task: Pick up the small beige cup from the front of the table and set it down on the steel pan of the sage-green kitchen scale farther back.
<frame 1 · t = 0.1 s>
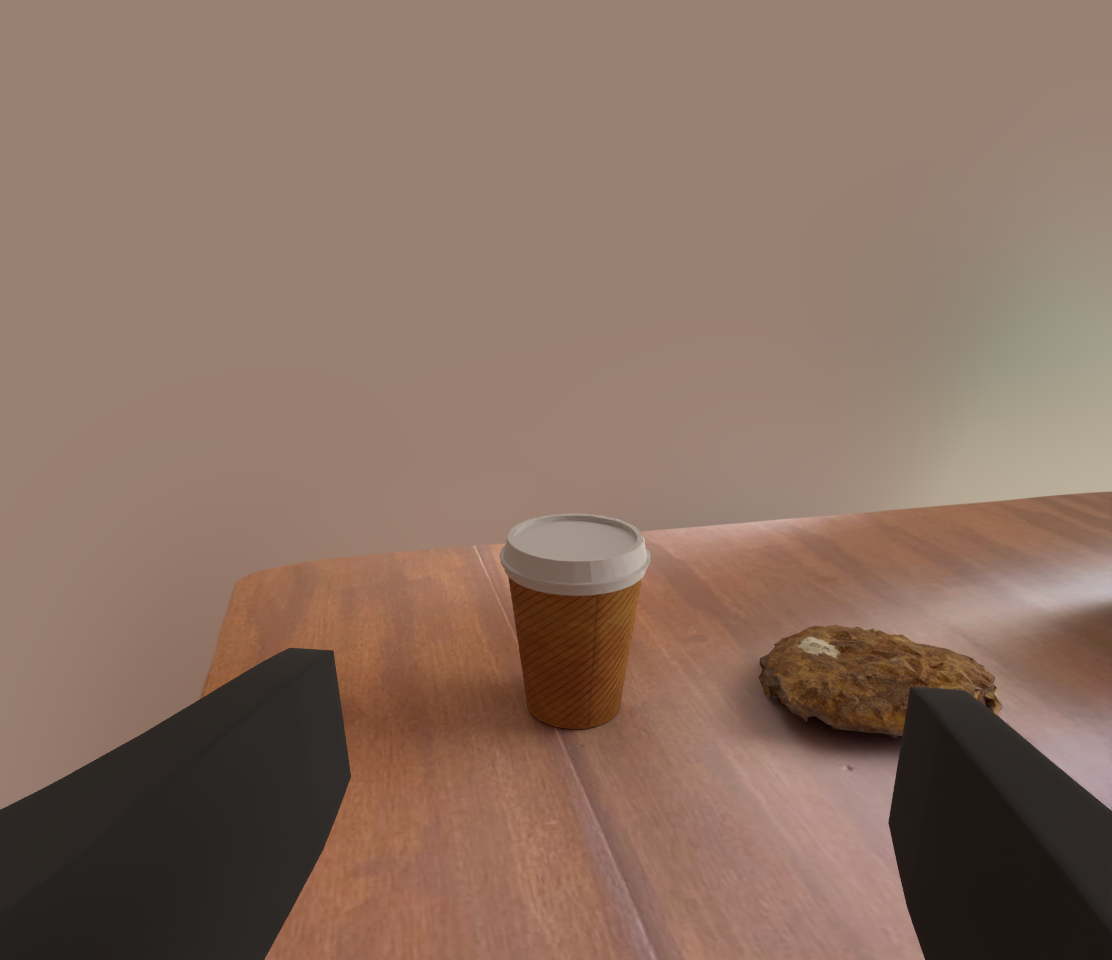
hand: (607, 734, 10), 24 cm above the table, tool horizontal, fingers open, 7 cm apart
decorative rock: (873, 705, 53), on the table
disposable coffee cup: (573, 705, 53), on the table
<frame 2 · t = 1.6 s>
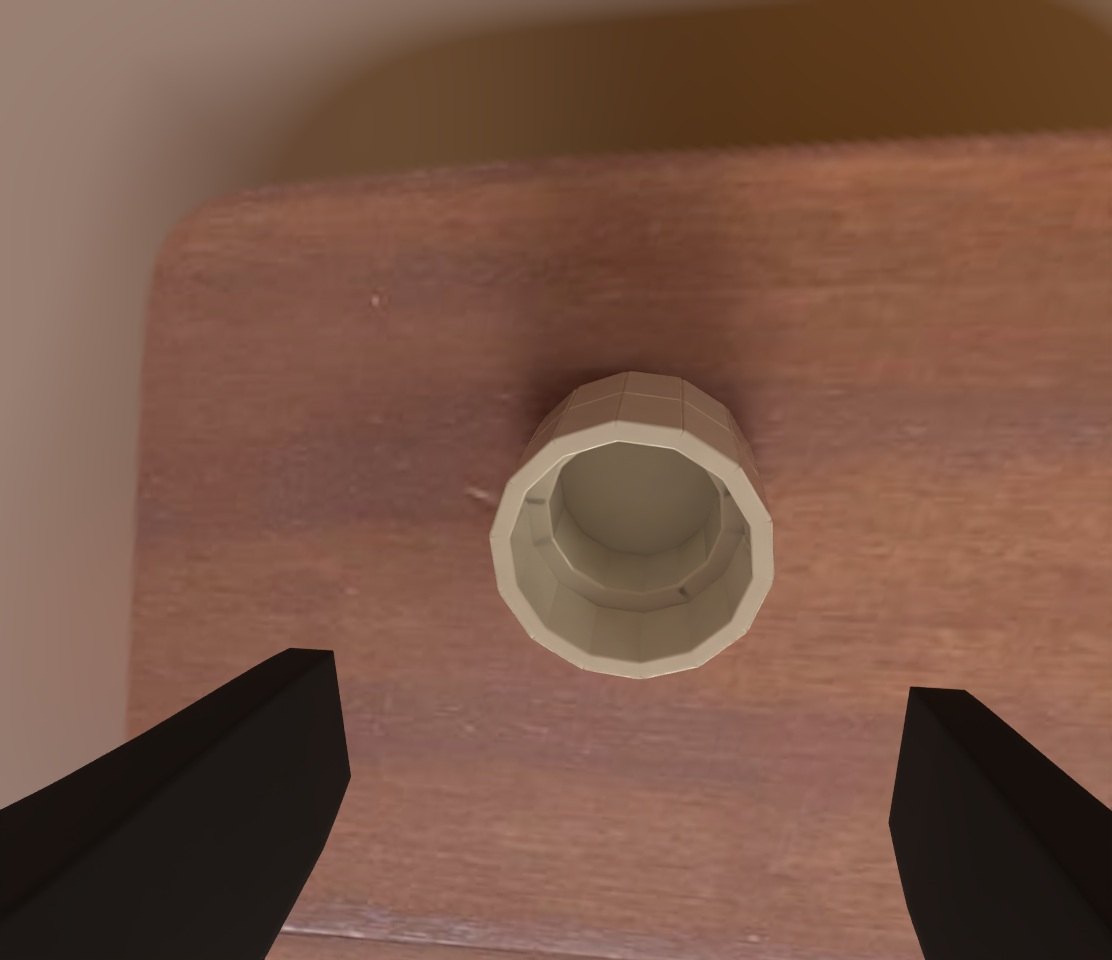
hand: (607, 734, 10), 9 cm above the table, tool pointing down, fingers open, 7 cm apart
small beige cup: (639, 476, 19), on the table
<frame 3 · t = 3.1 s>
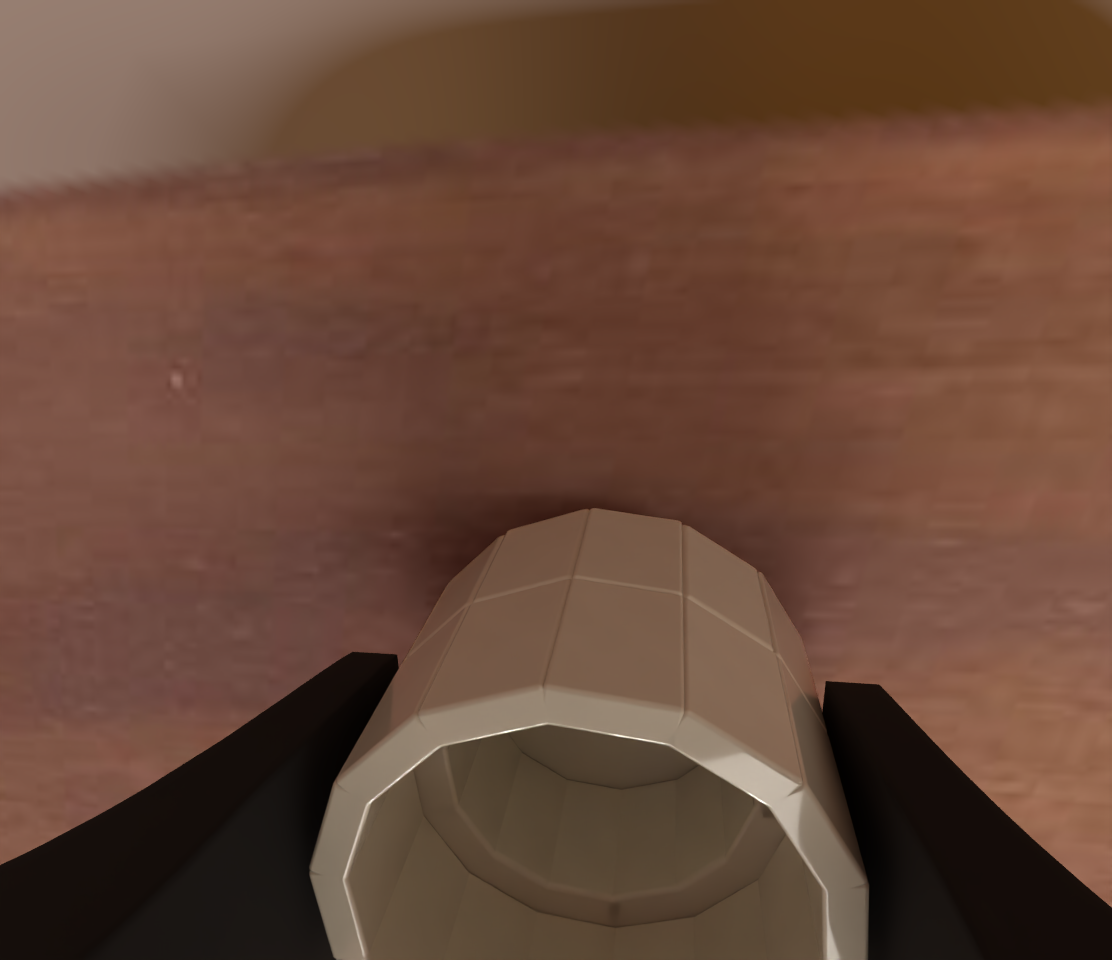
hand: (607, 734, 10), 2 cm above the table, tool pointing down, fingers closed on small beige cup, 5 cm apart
small beige cup: (613, 662, 11), on the table, touching gripper
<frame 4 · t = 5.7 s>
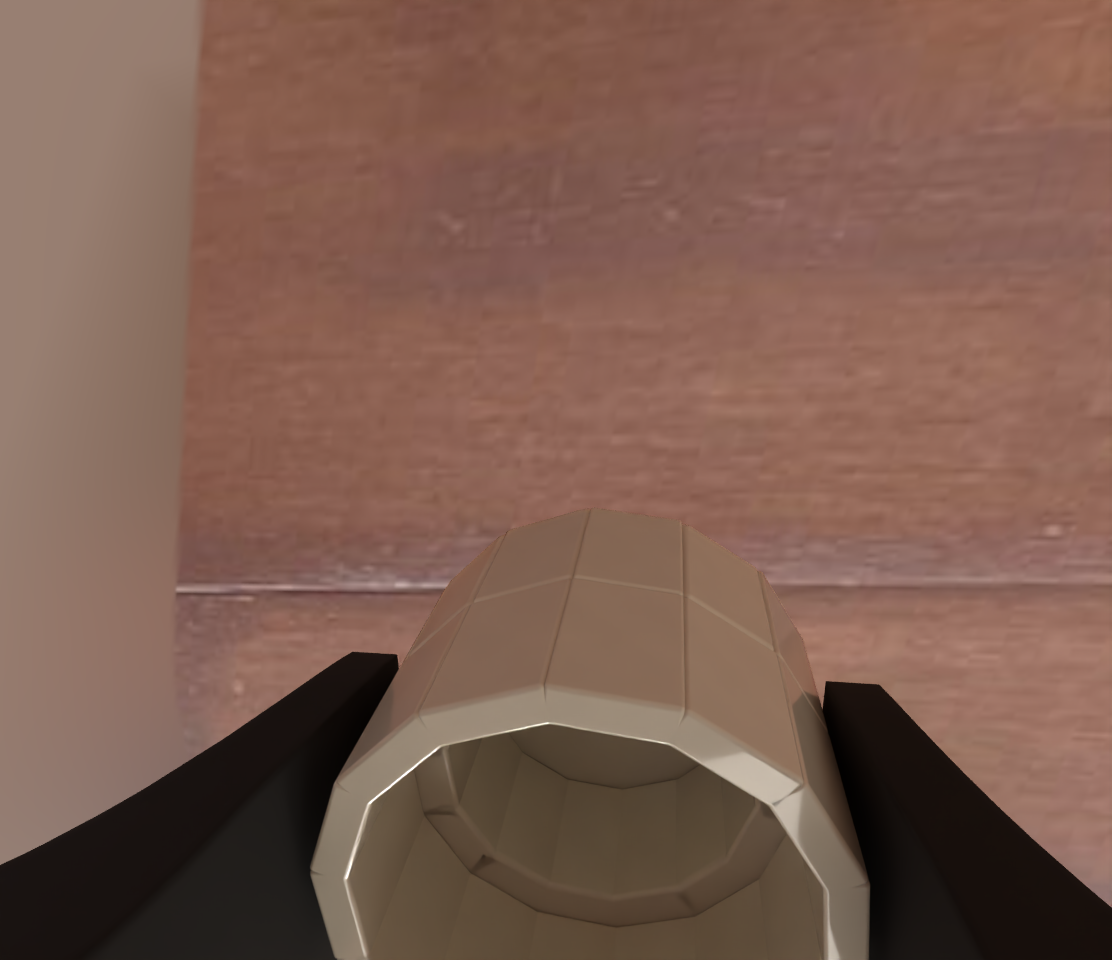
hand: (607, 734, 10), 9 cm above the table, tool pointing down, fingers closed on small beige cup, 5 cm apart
small beige cup: (613, 662, 11), point 7 cm above the table, touching gripper
when the fingers open (4 cm above the table, at t = 8.5 s): small beige cup stays where it is, resting on scale.
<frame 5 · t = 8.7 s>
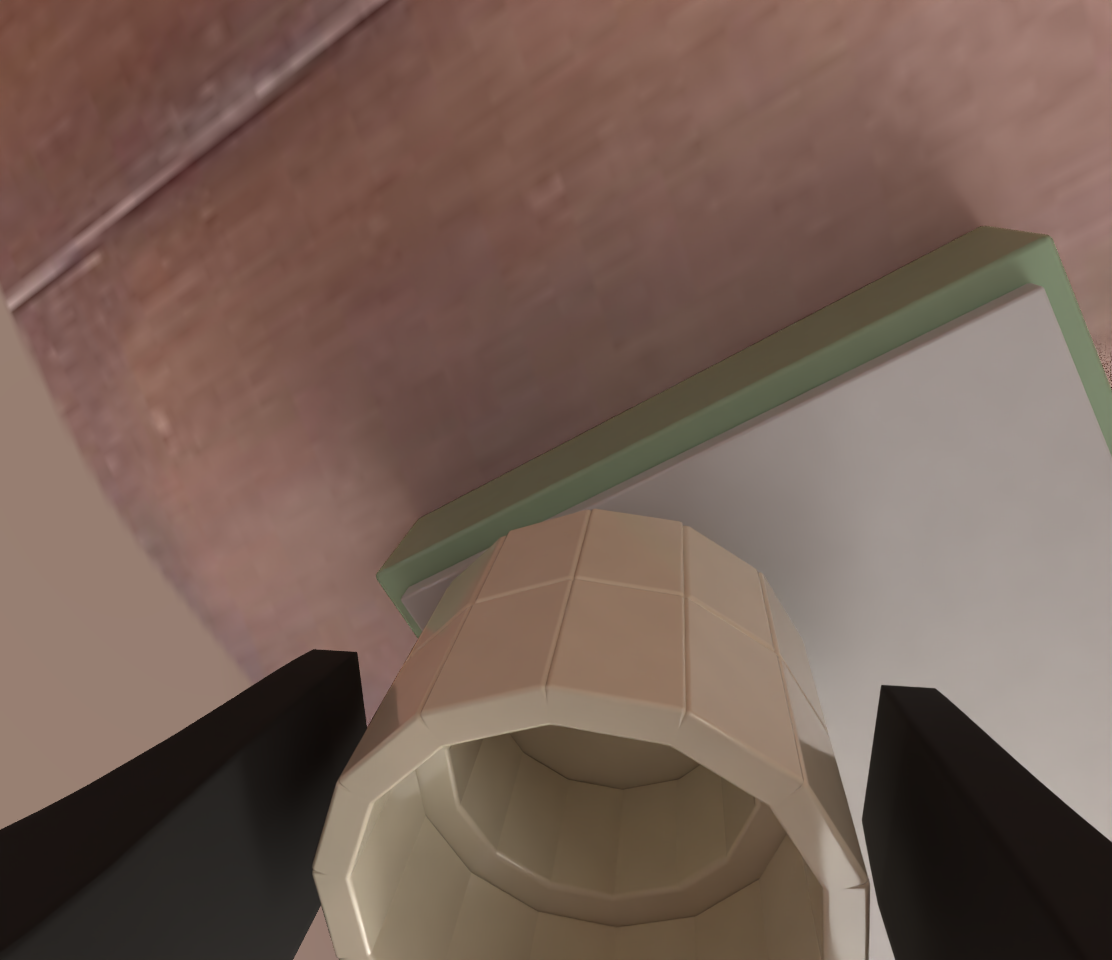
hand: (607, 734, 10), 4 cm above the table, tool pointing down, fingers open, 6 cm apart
small beige cup: (614, 662, 12), point 3 cm above the table, touching scale
scale: (860, 742, 14), on the table
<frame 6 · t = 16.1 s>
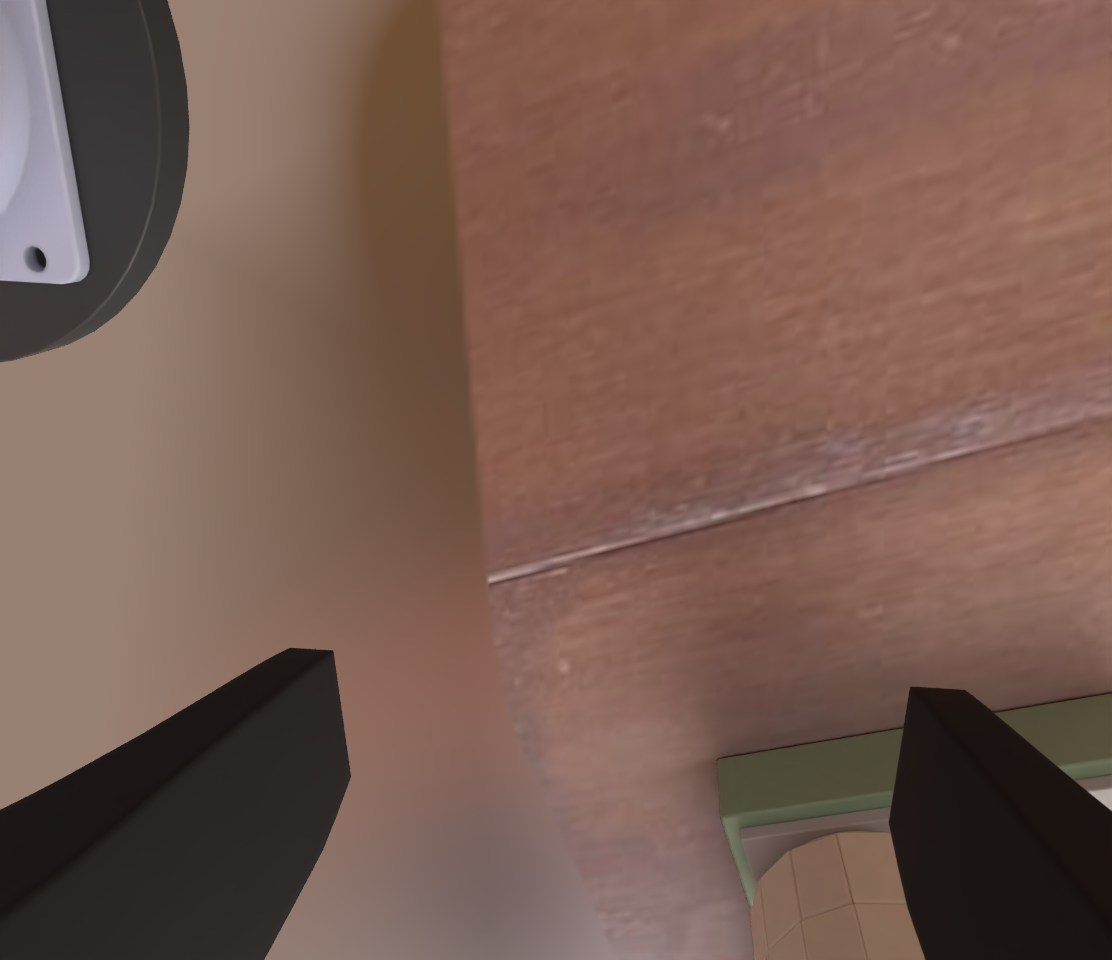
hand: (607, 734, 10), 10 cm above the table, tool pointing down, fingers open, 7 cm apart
small beige cup: (858, 898, 20), point 3 cm above the table, touching scale
scale: (953, 937, 23), on the table
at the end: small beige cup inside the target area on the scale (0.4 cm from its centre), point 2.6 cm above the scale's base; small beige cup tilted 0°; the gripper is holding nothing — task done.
